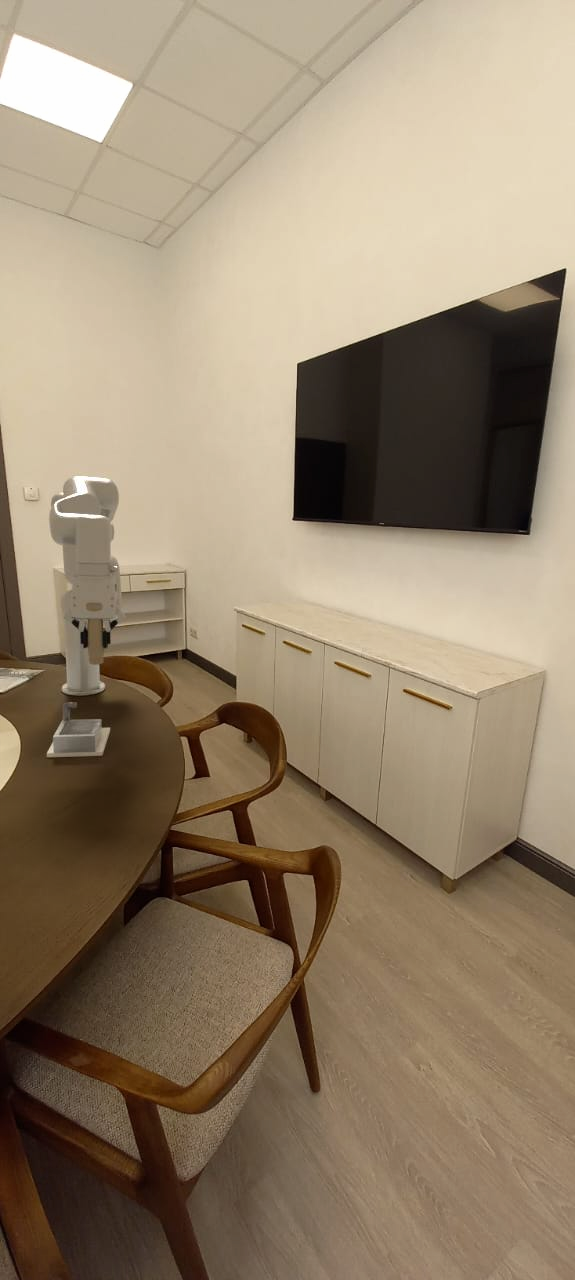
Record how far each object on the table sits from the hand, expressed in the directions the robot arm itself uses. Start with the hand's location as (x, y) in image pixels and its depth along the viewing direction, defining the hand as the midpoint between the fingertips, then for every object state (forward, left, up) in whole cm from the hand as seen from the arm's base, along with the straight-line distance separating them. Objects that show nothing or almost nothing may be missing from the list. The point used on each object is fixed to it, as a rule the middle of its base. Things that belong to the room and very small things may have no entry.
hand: (95, 646), depth 124 cm
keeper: (+3, -4, -24) cm, 24 cm away
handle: (0, 0, -4) cm, 4 cm away
